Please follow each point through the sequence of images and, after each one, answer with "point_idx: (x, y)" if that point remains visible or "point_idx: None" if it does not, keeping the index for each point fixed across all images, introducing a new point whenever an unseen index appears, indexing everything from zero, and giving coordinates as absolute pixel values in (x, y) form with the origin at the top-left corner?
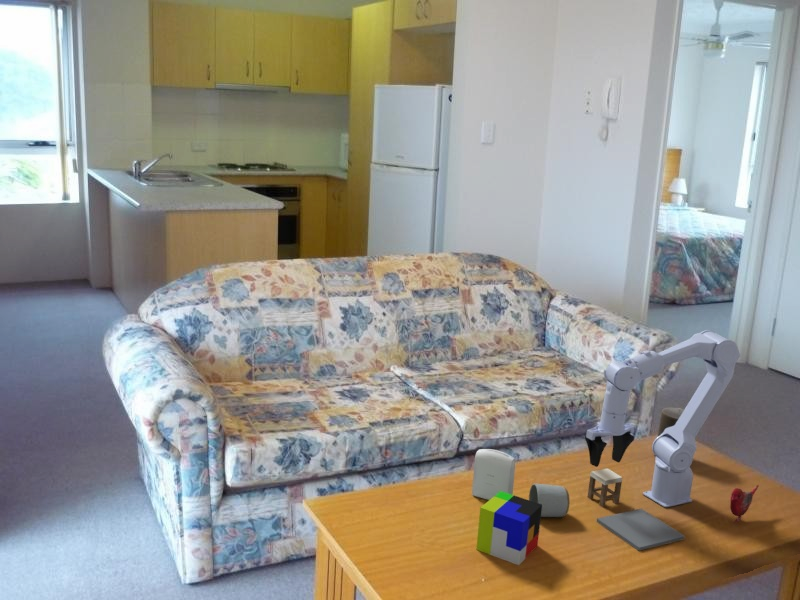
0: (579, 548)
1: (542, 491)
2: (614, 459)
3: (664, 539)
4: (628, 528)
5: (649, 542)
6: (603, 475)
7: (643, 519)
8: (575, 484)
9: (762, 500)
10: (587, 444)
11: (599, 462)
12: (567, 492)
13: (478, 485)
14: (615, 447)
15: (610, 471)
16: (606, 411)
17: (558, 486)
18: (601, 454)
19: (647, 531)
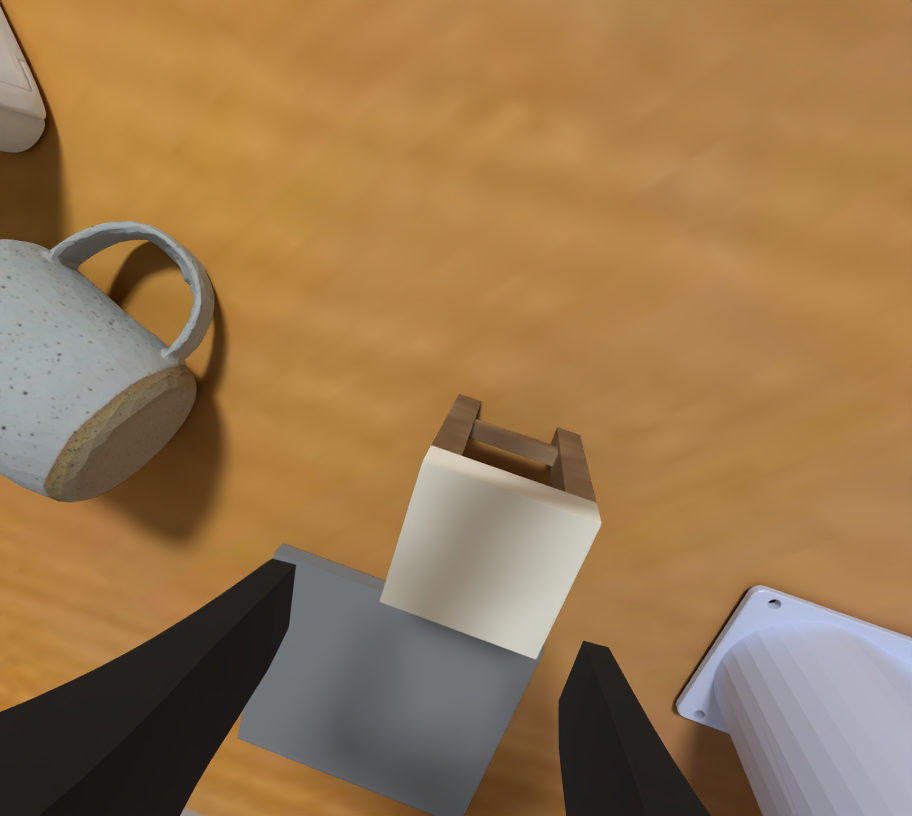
0: (71, 585)
1: None
2: (574, 674)
3: (368, 782)
4: (322, 671)
5: (300, 752)
6: (442, 559)
7: (447, 688)
8: (560, 243)
9: None
10: (29, 704)
11: (261, 676)
12: (54, 493)
13: None
14: (615, 802)
15: (560, 565)
16: None
17: (9, 436)
18: (194, 785)
19: (367, 727)
